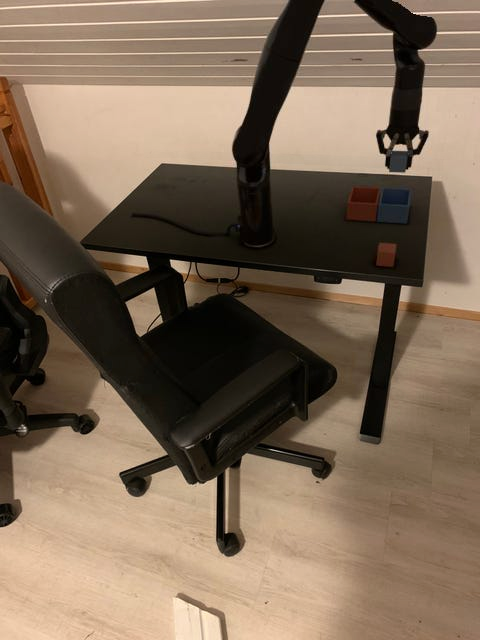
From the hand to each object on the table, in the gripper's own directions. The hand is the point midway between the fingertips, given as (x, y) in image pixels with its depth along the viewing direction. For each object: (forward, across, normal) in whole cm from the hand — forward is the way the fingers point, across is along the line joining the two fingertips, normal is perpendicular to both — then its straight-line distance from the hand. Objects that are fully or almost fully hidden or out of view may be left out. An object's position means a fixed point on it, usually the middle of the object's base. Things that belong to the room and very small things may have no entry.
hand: (397, 167), depth 131 cm
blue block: (0, 0, 0) cm, 0 cm away
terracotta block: (+15, 0, -25) cm, 29 cm away
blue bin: (+15, 0, +2) cm, 15 cm away
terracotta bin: (+15, -9, +2) cm, 18 cm away
